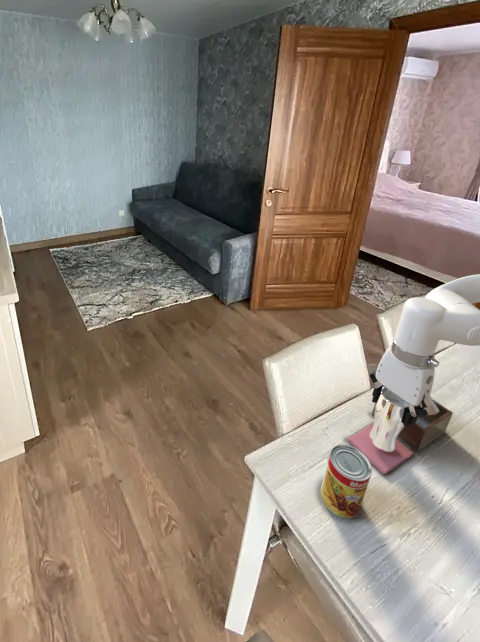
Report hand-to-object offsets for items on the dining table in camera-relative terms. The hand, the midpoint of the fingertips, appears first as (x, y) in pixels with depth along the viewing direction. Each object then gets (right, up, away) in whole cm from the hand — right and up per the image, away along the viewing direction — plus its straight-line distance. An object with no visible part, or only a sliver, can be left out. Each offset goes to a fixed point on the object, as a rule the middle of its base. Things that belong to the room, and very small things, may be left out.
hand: (392, 411), depth 82 cm
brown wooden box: (+12, -9, +12) cm, 19 cm away
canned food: (-16, -16, -7) cm, 24 cm away
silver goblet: (0, -10, +4) cm, 10 cm away
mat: (0, -12, +5) cm, 13 cm away
